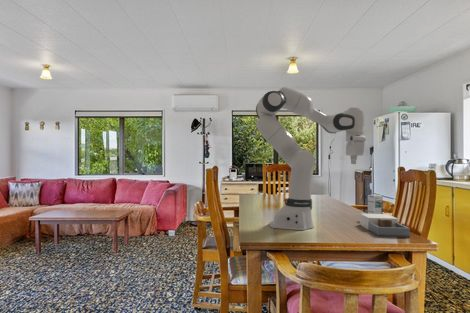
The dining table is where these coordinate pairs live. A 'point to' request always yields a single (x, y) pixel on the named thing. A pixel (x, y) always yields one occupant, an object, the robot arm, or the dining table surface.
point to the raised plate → (375, 219)
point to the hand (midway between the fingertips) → (353, 164)
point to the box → (389, 230)
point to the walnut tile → (385, 223)
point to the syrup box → (375, 204)
